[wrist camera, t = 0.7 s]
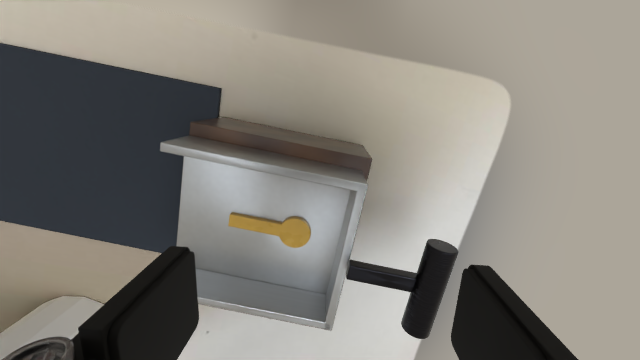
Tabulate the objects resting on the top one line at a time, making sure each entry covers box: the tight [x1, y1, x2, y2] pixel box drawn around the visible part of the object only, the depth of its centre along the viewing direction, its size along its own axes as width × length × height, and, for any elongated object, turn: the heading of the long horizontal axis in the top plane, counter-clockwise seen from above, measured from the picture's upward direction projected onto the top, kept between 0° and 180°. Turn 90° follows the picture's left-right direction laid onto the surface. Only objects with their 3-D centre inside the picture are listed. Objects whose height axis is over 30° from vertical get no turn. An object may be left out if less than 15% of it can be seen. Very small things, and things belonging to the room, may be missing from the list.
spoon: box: [228, 212, 311, 248], centre depth 23 cm, size 6×2×1 cm, turn 79°
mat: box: [0, 43, 221, 253], centre depth 30 cm, size 36×18×1 cm, turn 79°
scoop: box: [160, 136, 458, 339], centre depth 21 cm, size 19×11×6 cm, turn 79°
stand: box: [189, 117, 372, 181], centre depth 27 cm, size 14×13×7 cm
